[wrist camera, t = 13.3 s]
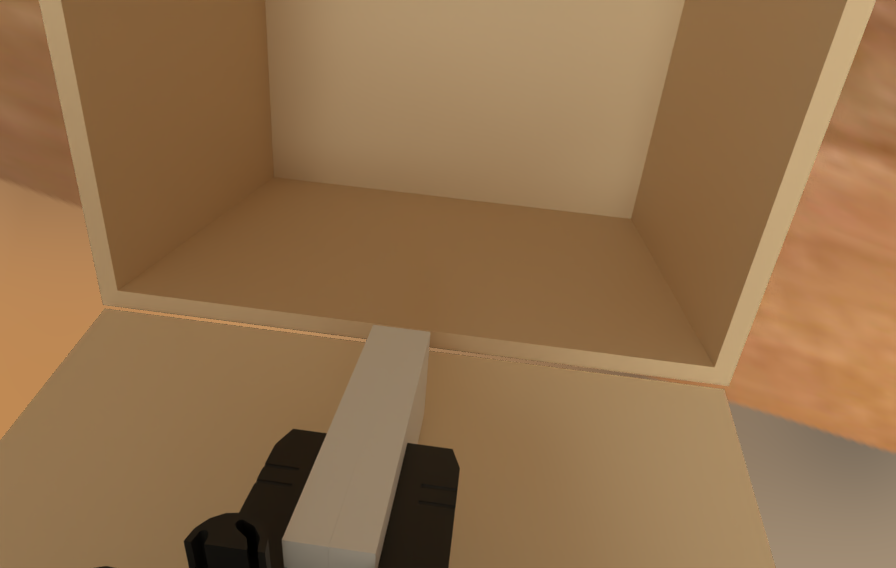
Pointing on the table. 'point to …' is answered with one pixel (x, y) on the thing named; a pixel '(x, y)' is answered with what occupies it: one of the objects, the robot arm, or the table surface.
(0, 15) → the table surface
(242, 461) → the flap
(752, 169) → the carton
